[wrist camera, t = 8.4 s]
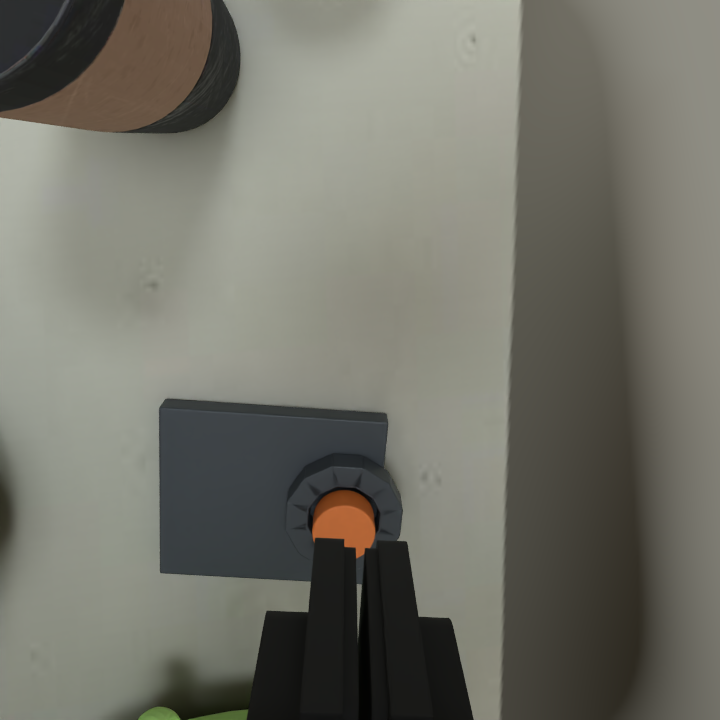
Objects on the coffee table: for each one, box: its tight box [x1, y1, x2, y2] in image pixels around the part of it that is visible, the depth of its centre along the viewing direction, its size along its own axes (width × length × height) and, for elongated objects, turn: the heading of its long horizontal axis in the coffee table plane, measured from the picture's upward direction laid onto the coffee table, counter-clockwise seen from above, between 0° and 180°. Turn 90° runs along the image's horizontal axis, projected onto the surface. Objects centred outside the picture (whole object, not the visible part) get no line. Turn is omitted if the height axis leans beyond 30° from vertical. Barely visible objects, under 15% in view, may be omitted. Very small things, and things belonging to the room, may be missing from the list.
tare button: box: [312, 490, 375, 558], centre depth 35 cm, size 3×3×2 cm
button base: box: [159, 399, 403, 584], centre depth 36 cm, size 13×10×3 cm
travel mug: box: [0, 0, 240, 133], centre depth 22 cm, size 8×8×20 cm
